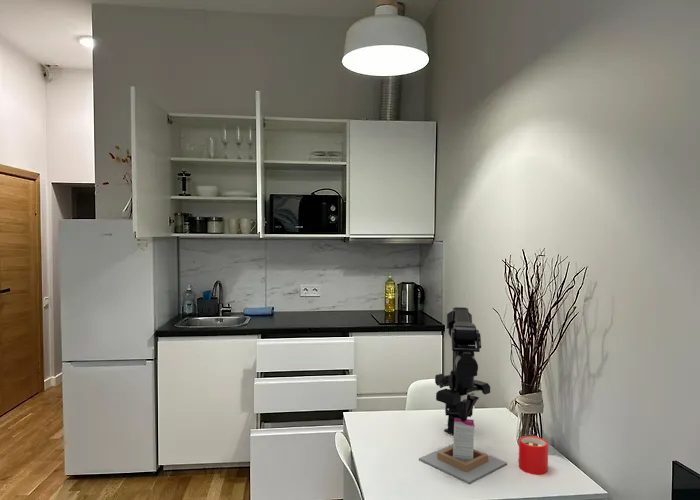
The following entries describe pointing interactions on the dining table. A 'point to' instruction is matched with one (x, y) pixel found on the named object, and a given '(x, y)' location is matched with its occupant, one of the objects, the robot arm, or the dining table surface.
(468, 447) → the supplement box
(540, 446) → the mug
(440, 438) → the dining table surface
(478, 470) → the holder
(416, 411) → the dining table surface
